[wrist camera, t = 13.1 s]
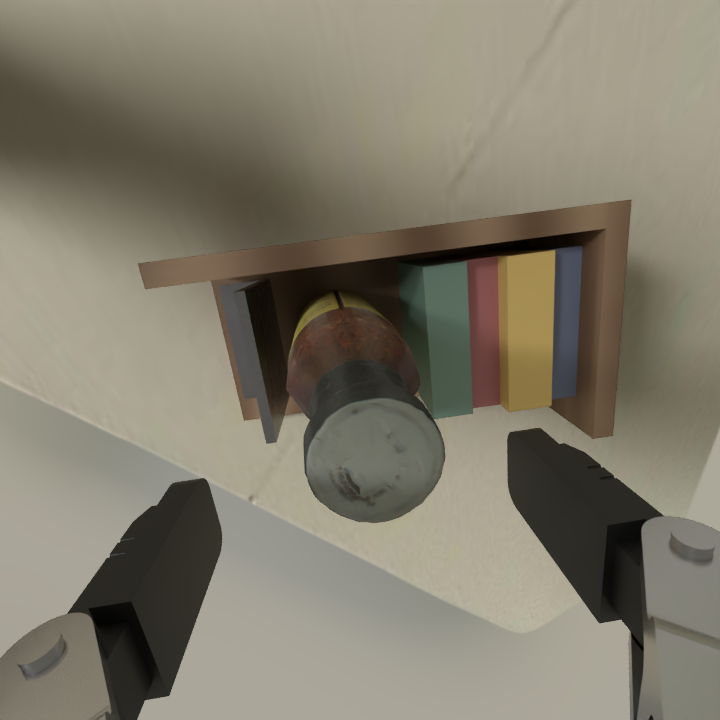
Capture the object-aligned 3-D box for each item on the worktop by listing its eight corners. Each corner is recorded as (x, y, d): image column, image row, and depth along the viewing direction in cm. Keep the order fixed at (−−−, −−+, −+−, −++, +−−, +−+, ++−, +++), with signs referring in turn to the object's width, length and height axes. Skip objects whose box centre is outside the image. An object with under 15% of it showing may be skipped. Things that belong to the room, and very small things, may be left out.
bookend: (245, 397, 30) (213, 451, 22) (219, 285, 28) (173, 300, 20) (291, 390, 31) (276, 442, 22) (269, 278, 28) (244, 290, 20)
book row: (407, 374, 31) (436, 422, 22) (396, 262, 28) (425, 267, 20) (514, 359, 31) (583, 401, 23) (513, 246, 29) (591, 245, 20)
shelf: (247, 413, 32) (205, 497, 21) (212, 258, 29) (138, 263, 18) (519, 374, 33) (612, 435, 22) (519, 218, 29) (631, 199, 18)
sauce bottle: (301, 368, 30) (251, 571, 11) (295, 288, 28) (221, 368, 9) (383, 363, 30) (469, 552, 11) (381, 285, 29) (481, 354, 10)
